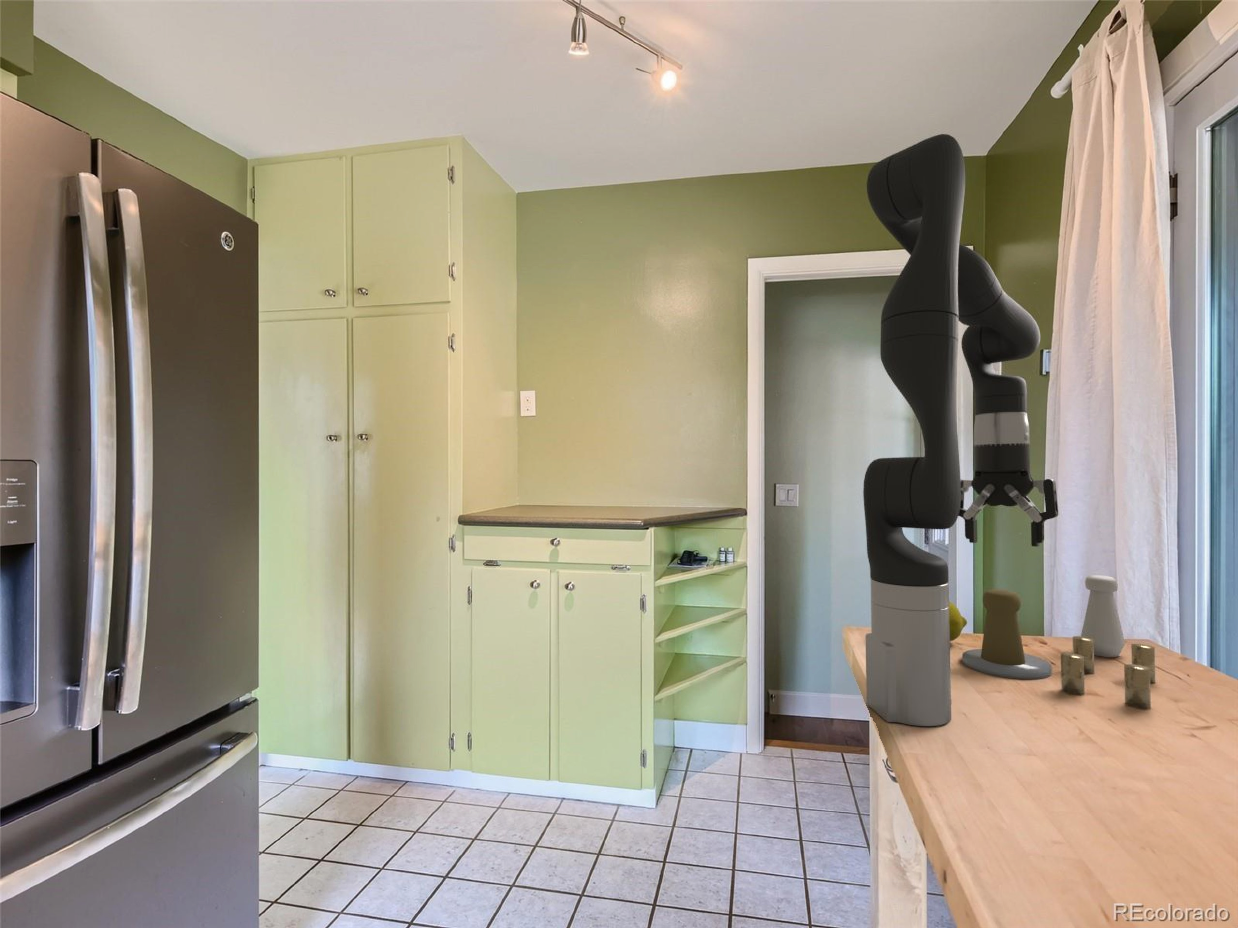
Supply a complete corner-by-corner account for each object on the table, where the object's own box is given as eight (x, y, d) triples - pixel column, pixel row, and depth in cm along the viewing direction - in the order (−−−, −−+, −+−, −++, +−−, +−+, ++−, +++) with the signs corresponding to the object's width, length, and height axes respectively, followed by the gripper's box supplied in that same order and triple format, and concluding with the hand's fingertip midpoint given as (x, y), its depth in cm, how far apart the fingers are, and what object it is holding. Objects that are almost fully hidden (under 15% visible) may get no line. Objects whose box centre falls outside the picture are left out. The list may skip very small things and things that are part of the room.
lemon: (967, 640, 112) (966, 596, 112) (967, 651, 105) (966, 605, 105) (902, 633, 117) (901, 591, 117) (898, 643, 110) (897, 599, 110)
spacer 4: (1136, 709, 79) (1135, 670, 79) (1119, 701, 82) (1118, 664, 82) (1156, 708, 79) (1155, 670, 79) (1138, 701, 82) (1137, 663, 82)
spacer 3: (1142, 683, 89) (1142, 648, 89) (1127, 677, 91) (1126, 643, 91) (1160, 682, 89) (1159, 648, 89) (1144, 676, 91) (1143, 643, 91)
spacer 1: (1071, 694, 85) (1070, 658, 85) (1057, 688, 87) (1056, 653, 87) (1089, 694, 85) (1088, 658, 85) (1074, 687, 87) (1074, 652, 87)
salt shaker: (1127, 660, 99) (1125, 580, 99) (1083, 655, 102) (1081, 577, 102) (1121, 651, 104) (1119, 574, 104) (1079, 646, 107) (1077, 572, 107)
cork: (1032, 666, 94) (1030, 594, 94) (988, 664, 95) (987, 593, 95) (1016, 654, 100) (1014, 587, 100) (975, 652, 101) (973, 586, 101)
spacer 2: (1082, 673, 93) (1081, 640, 93) (1069, 668, 96) (1068, 636, 96) (1098, 673, 93) (1098, 640, 93) (1085, 667, 96) (1084, 635, 96)
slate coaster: (992, 679, 91) (992, 673, 91) (947, 655, 103) (947, 649, 103) (1071, 677, 91) (1071, 671, 91) (1017, 653, 103) (1016, 647, 103)
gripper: (1059, 441, 95) (1061, 545, 95) (958, 445, 105) (960, 539, 105) (1051, 439, 90) (1053, 550, 90) (945, 443, 100) (947, 543, 99)
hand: (1003, 544), depth 97 cm, fingers open, 8 cm apart
